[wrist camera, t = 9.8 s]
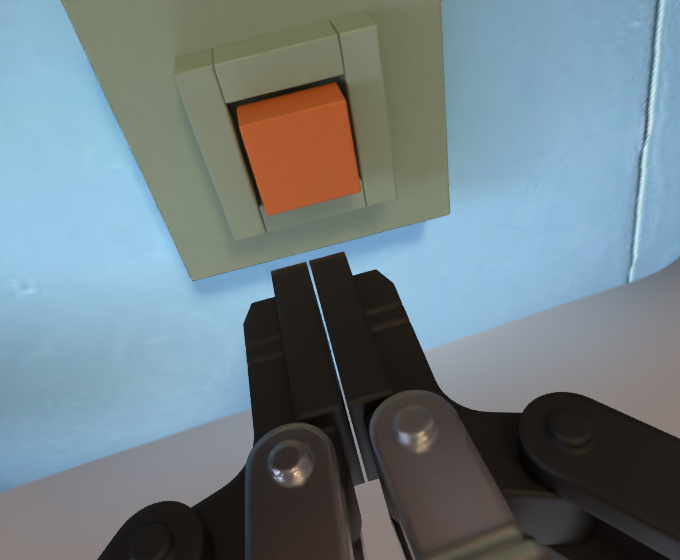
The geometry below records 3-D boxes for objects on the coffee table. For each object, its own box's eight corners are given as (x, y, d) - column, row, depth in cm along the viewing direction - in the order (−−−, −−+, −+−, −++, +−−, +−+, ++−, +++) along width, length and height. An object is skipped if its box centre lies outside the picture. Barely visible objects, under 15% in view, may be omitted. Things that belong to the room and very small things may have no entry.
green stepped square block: (70, -28, 17) (41, 2, 14) (411, -109, 17) (457, -96, 14) (192, 248, 24) (191, 308, 21) (432, 186, 24) (465, 236, 21)
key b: (235, 105, 17) (238, 126, 16) (336, 80, 17) (346, 99, 16) (262, 193, 19) (267, 217, 18) (352, 170, 19) (361, 192, 18)
